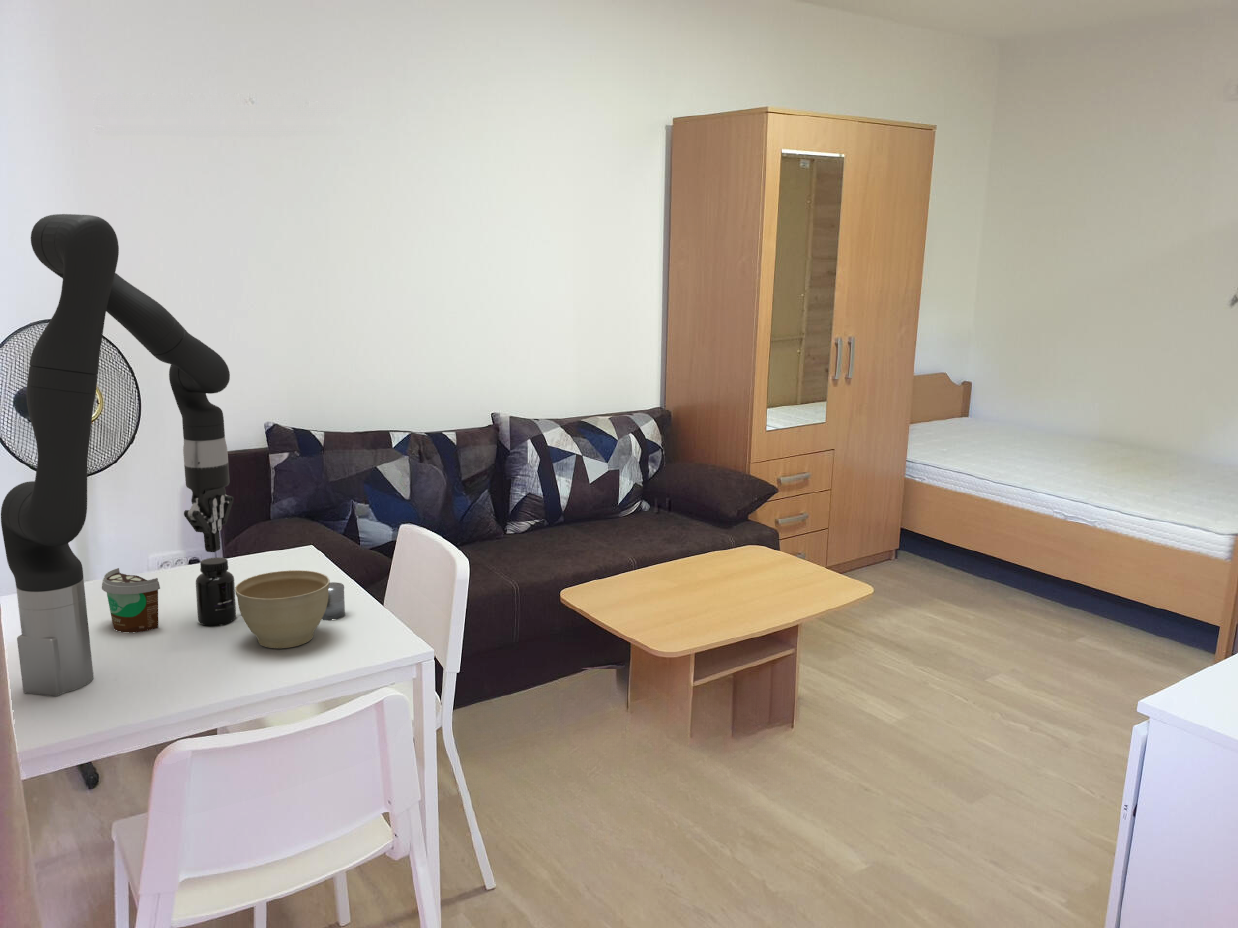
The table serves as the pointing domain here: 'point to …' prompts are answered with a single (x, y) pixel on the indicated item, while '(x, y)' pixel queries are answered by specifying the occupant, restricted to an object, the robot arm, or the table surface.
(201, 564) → the supplement bottle
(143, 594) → the food container
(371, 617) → the table surface
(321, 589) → the planter bowl
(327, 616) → the dark grey metal cylinder
